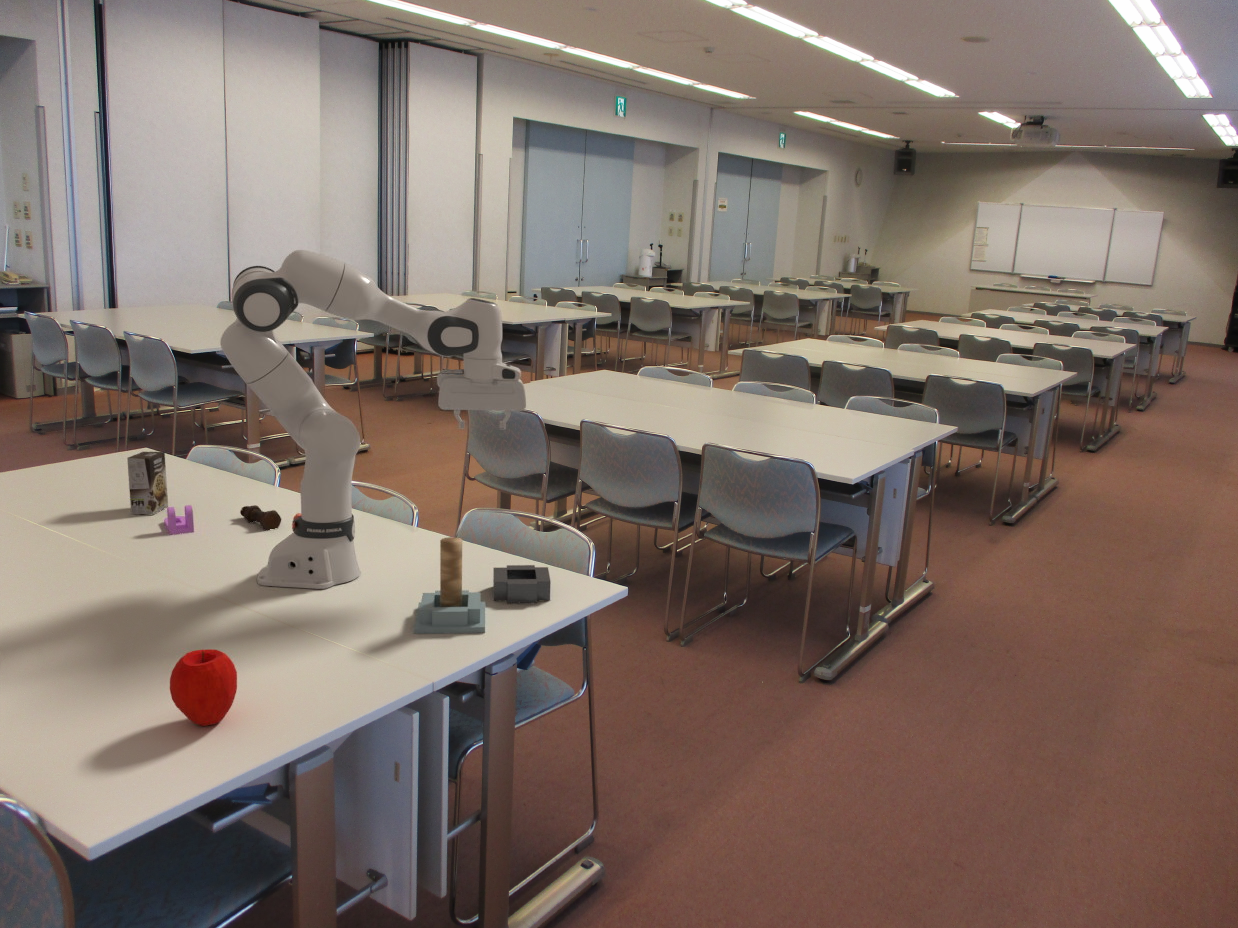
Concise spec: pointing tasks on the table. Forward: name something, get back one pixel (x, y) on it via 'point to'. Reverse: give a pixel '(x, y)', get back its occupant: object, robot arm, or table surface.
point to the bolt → (261, 517)
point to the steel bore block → (521, 584)
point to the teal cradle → (450, 615)
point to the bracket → (185, 522)
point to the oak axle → (451, 572)
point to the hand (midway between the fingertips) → (482, 428)
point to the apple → (204, 686)
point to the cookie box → (147, 482)
